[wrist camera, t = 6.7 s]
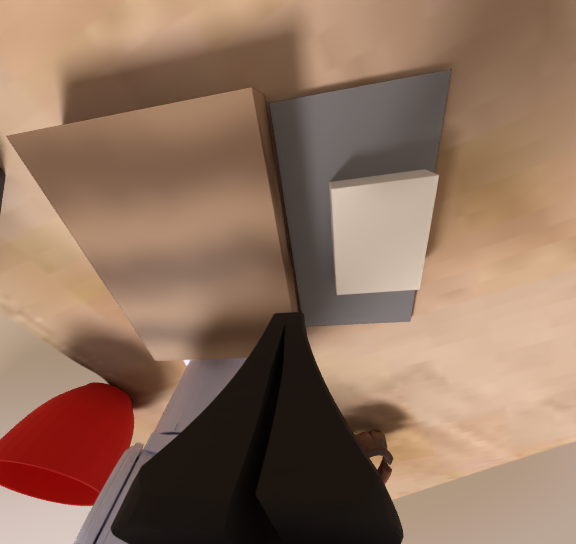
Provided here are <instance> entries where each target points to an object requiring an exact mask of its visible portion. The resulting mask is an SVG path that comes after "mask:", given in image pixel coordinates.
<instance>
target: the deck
mask: <svg viewBox="0 0 576 544" xmlns="http://www.w3.org/2000/svg"><path fill="white" fill-rule="evenodd" d="M6 137H7V138H8V140H9V141H10V143H11V144H12V146H13V147H14V149H15V150H16V152H17V153H18V155H19V156H20V158H21V159H22V161H23V162H24V164H25V165H26V167H27V168H28V170H29V171H30V173H31V174H32V176H33V177H34V179H35V180H36V182H37V183H38V185H39V186H40V188H41V189H42V191H43V192H44V194H45V195H46V197H47V199H48V200H49V202H50V203H51V205H52V206H53V208H54V209H55V211H56V212H57V214H58V215H59V217H60V218H61V220H62V221H63V223H64V224H65V226H66V227H67V229H68V230H69V232H70V233H71V235H72V236H73V238H74V239H75V241H76V242H77V244H78V245H79V247H80V248H81V250H82V251H83V253H84V254H85V256H86V257H87V259H88V260H89V262H90V263H91V265H92V266H93V268H94V269H95V271H96V272H97V274H98V275H99V277H100V278H101V280H102V281H103V283H104V284H105V286H106V287H107V289H108V290H109V292H110V293H111V295H112V296H113V298H114V299H115V301H116V302H117V304H118V305H119V307H120V308H121V310H122V311H123V313H124V314H125V316H126V317H127V319H128V320H129V322H130V323H131V325H132V326H133V328H134V329H135V331H136V332H137V334H138V335H139V337H140V338H141V340H142V341H143V343H144V345H145V346H146V348H147V349H148V351H149V352H150V354H151V355H152V357H153V358H154V360H155V361H163V360H197V359H230V358H248V356H249V355H250V353H251V352H252V350H253V349H254V347H255V346H256V344H257V342H258V341H259V339H260V338H261V336H262V334H263V333H264V331H265V329H266V327H267V326H268V324H269V322H270V320H271V318H272V316H273V315H274V314H275V313H288V312H299V310H298V304H297V298H296V291H295V285H294V279H293V273H292V266H291V260H290V254H289V248H288V241H287V235H286V229H285V223H284V216H283V210H282V204H281V198H280V192H279V185H278V179H277V173H276V167H275V160H274V154H273V148H272V142H271V135H270V129H269V123H268V117H267V110H266V104H265V98H264V94H263V93H261V92H259V91H257V90H255V89H254V88H252V87H250V88H245V89H240V90H235V91H230V92H225V93H220V94H215V95H210V96H205V97H200V98H195V99H190V100H185V101H180V102H175V103H170V104H165V105H160V106H155V107H150V108H145V109H140V110H135V111H130V112H125V113H119V114H114V115H109V116H104V117H99V118H94V119H89V120H84V121H79V122H74V123H69V124H64V125H59V126H54V127H49V128H44V129H39V130H34V131H29V132H24V133H19V134H14V135H9V136H6Z"/></svg>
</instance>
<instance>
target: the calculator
mask: <svg viewBox="0 0 576 544" xmlns="http://www.w3.org/2000/svg"><path fill="white" fill-rule="evenodd" d="M4 183H5V173H4V171H3V170H2V169H1V168H0V212H1V205H2V198H3V190H4Z"/></svg>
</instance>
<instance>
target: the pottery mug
mask: <svg viewBox="0 0 576 544" xmlns="http://www.w3.org/2000/svg"><path fill="white" fill-rule="evenodd" d="M355 437H356V439H357V440H358V442H359V443H360V445H361V446H362V448H363V449H364V451H365V453H366V454H367V456H368V457H369V458H370V457H373V456H377V455H380V456H383V459H382V461H381V464H380V466H379V468H378V472H379V474H380V476H381V478H382V481H383V483H384V485H385V483H386V482H387V480H388V479H389V477H390V475H391V472H392V469H391V468H390V467H389V466H388V464H389V465H391V463H392V460H393V457H392V455H391V453H390V452H389V451H388V450H387V444H386V439H385V435H384V434H382V433H381V432H380V431H373V430H371V431H369V432H362V433H361V434H359V435H356V436H355ZM387 463H388V464H387Z"/></svg>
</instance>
